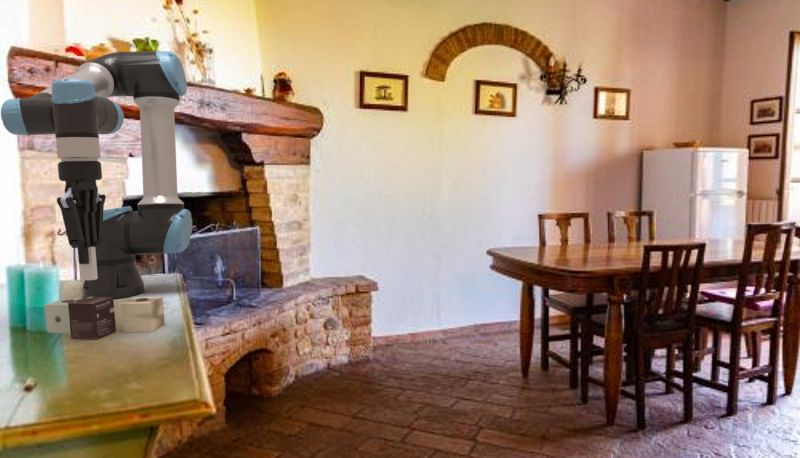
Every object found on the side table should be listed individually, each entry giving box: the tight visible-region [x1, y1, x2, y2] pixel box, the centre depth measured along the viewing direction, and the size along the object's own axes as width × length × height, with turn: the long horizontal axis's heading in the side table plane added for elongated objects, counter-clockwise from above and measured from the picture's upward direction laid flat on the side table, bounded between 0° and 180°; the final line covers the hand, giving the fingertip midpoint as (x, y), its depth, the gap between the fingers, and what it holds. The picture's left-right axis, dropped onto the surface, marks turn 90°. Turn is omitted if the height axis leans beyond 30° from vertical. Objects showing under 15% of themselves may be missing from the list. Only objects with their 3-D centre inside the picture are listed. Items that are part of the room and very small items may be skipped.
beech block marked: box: [120, 296, 166, 333], centre depth 125 cm, size 6×6×6 cm
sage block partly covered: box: [44, 297, 81, 335], centre depth 126 cm, size 6×6×6 cm
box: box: [68, 297, 117, 340], centre depth 121 cm, size 6×6×7 cm
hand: (89, 279), depth 120 cm, fingers closed
